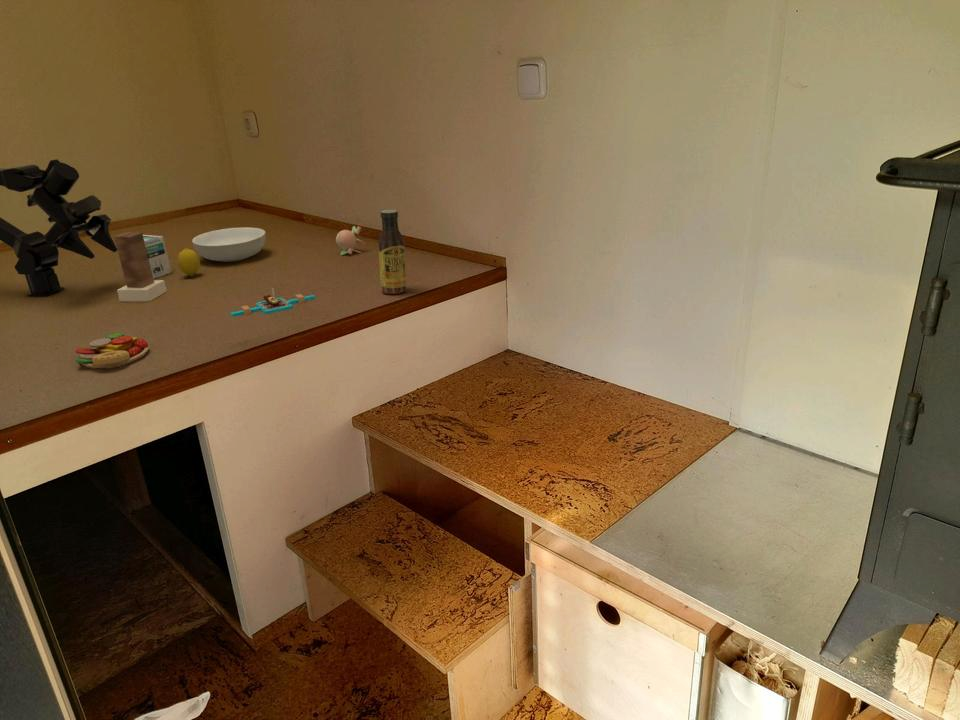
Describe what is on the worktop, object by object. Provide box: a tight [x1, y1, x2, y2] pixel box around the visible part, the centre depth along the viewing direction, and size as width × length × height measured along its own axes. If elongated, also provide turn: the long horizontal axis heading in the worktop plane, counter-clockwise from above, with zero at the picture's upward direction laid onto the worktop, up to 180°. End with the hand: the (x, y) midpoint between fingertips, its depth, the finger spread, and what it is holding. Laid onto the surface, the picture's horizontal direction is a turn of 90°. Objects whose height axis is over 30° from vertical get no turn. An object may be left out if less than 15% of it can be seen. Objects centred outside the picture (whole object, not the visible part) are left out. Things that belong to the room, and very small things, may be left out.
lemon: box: [177, 247, 201, 277], centre depth 190 cm, size 6×6×8 cm
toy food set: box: [75, 332, 150, 369], centre depth 139 cm, size 13×13×3 cm
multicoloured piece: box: [230, 287, 316, 317], centre depth 164 cm, size 20×5×9 cm
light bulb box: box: [143, 234, 172, 280], centre depth 193 cm, size 11×7×11 cm, turn 65°
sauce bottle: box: [378, 209, 407, 295], centre depth 167 cm, size 6×6×20 cm
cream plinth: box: [116, 279, 167, 302], centre depth 176 cm, size 8×8×3 cm
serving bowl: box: [191, 227, 267, 263], centre depth 207 cm, size 21×21×7 cm
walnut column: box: [113, 231, 155, 288], centre depth 173 cm, size 4×4×13 cm
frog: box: [335, 225, 366, 256], centre depth 206 cm, size 10×8×8 cm
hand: (105, 254), depth 175 cm, fingers open, 9 cm apart
